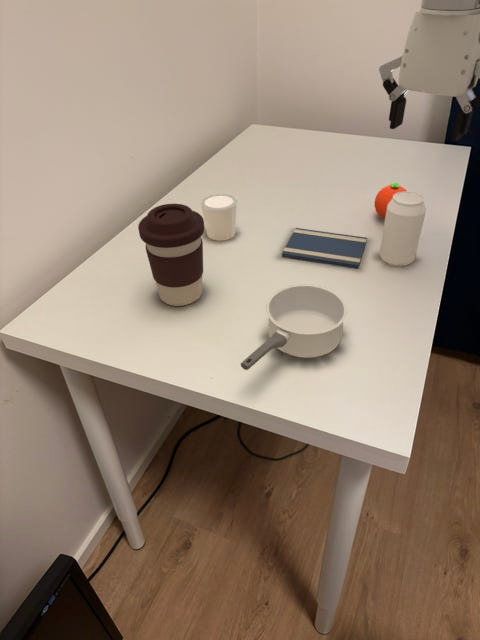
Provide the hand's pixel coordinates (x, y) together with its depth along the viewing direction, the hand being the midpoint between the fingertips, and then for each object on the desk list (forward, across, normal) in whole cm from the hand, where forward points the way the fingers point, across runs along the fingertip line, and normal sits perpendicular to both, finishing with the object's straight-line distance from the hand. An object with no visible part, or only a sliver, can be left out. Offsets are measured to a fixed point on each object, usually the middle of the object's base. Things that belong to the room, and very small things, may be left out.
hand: (425, 132), depth 74 cm
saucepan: (+22, +2, +33) cm, 40 cm away
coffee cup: (+22, +24, +32) cm, 46 cm away
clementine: (+22, +8, -13) cm, 27 cm away
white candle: (+22, +32, +12) cm, 41 cm away
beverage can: (+22, 0, +1) cm, 23 cm away
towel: (+22, +12, +6) cm, 26 cm away
